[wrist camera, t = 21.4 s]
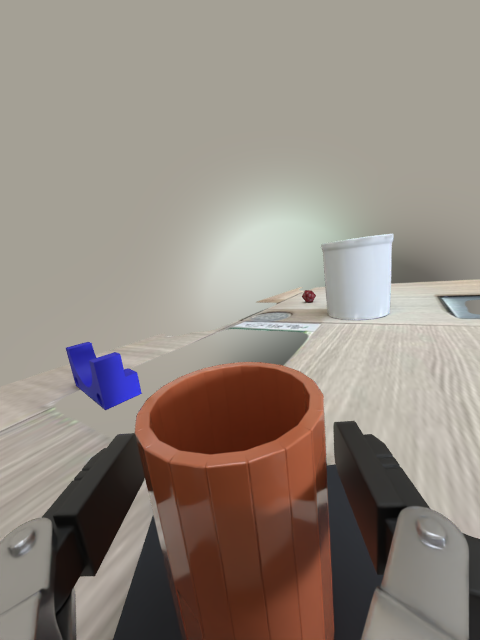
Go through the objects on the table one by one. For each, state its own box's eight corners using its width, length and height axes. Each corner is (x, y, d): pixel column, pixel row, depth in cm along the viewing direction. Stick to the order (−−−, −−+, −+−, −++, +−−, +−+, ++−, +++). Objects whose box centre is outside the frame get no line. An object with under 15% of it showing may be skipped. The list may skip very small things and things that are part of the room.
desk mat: (-49, 1175, 4) (-59, 1166, 4) (164, 489, 18) (162, 483, 18) (743, 1089, 4) (753, 1080, 4) (359, 467, 18) (359, 461, 18)
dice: (316, 302, 82) (316, 290, 81) (302, 303, 83) (301, 291, 82) (315, 300, 86) (315, 288, 85) (302, 301, 87) (301, 290, 86)
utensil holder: (369, 324, 52) (369, 234, 48) (312, 316, 64) (308, 244, 60) (404, 310, 60) (406, 232, 56) (347, 305, 72) (345, 241, 68)
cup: (167, 743, 8) (92, 480, 6) (197, 536, 14) (165, 370, 12) (364, 723, 8) (361, 450, 6) (309, 524, 14) (297, 355, 12)
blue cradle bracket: (141, 393, 33) (132, 350, 32) (105, 410, 30) (93, 362, 29) (107, 374, 41) (98, 339, 40) (76, 385, 38) (65, 347, 37)
